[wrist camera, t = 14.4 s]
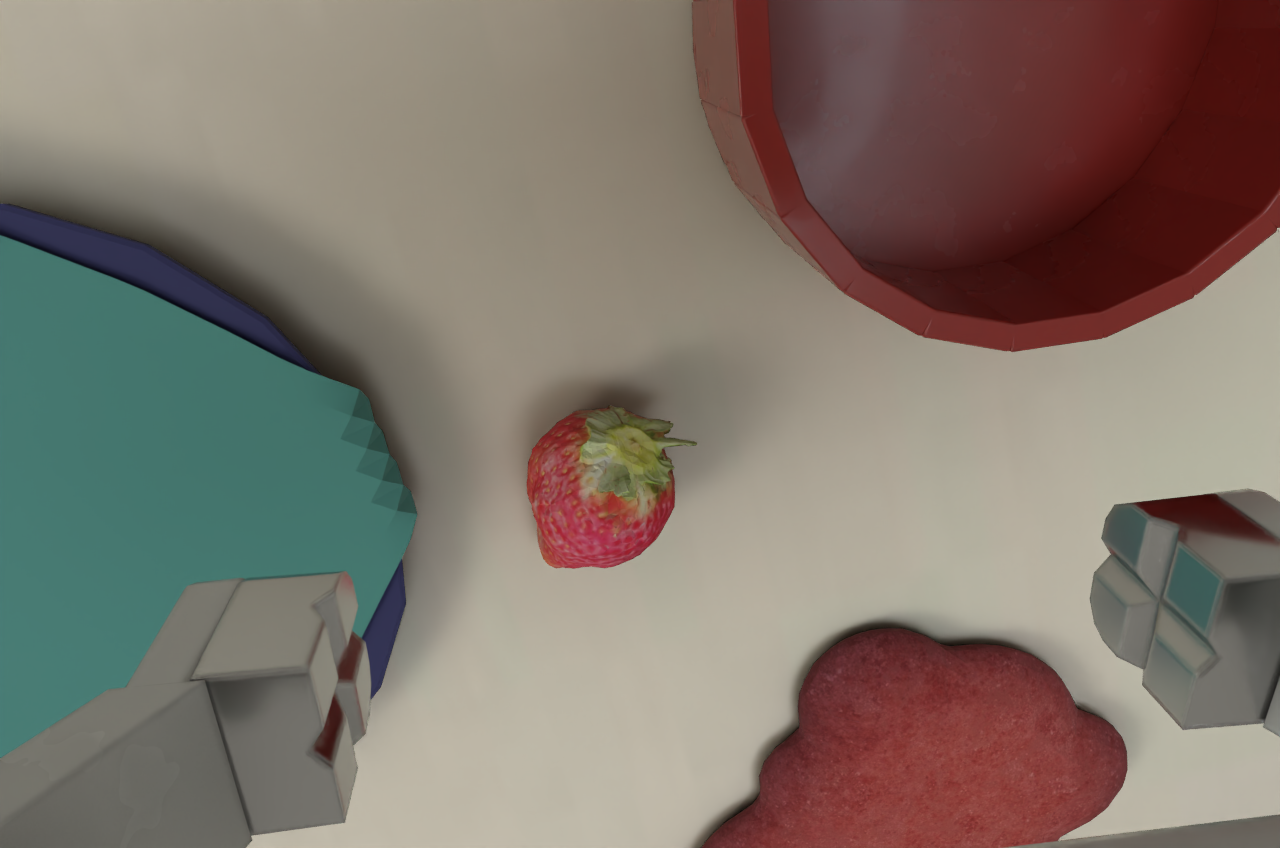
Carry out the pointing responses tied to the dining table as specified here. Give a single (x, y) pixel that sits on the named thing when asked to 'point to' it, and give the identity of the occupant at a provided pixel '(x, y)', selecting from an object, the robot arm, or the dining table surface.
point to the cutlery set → (163, 465)
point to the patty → (930, 753)
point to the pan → (1002, 151)
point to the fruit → (601, 487)
